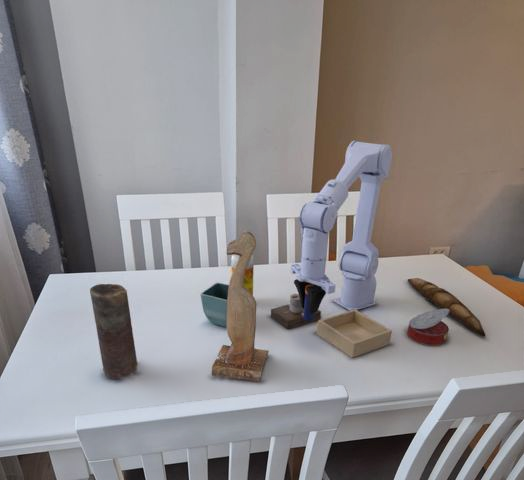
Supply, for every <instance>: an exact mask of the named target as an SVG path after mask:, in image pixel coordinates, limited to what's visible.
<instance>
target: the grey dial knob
mask: <svg viewBox="0 0 524 480" xmlns="http://www.w3.org/2000/svg"><path fill="white" fill-rule="evenodd" d="M289 304H290V308H289V310H290V311H291V312H293V313H300V312H302V311H303V308H302V307H301V302H300V297H299V293H293V294H290V295H289Z"/></svg>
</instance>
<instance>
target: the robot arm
mask: <svg viewBox="0 0 524 480" xmlns="http://www.w3.org/2000/svg"><path fill="white" fill-rule="evenodd" d="M344 157H345V159H344V163H343V165H342V167H341V169H340V170H339V172H338V174H337V175H336V177H335V178H334V179H329V180H328V181H327V182H326V183H325V185H324V186H323V187H322V189H321V190H320V191H319V192H318V194H317V195H316V196H315V197H314V199H313V200H312V201H308V202H307V203H304V205H303V206H302V207H301V210H300V212H299V216H298V224H299V226H300V235H301V236H302V243H301V244H302V245H301V257H300V258H301V259H300V264H299V263H294V264H291V265H290V273H291V274H293V275H294V274H295V275H297V276H296V279H294V281H293V284H294V286H295V287H296V290H297V294H299V297H300V302H301V307H302V308H304V303H305V287H306V285H313V286H310V287H306V290H307V293H308V298H309V313H311V314H312V313H316V312H317V311H318V310H319V308H320V306H321V303H322V301H323V299H324V297H325V296H326V295H330V294H335V293H336V286H337V285H336V284H335V283H334V282H332V281H331V279H330V278H329V277H328V276H327V275H326V265H327V256H328V245H329V236H330V232H331V230H332V229H333V228H334V226H335V224H336V219H337V217H338V215H339V210H340V208H341V207H342V206H343V205H344V203H345V202H346V201H347V199H348V198H349V189H350V187H351V186H352V185H353V184H354V183H355V181H357V179H358V178H359V179H360V181H361V183H360V185H361V186H360V190H359V197H358V201H357V208H356V214H355V221H354V227H353V234H352V239H351V240H350V241H348V242H347V243H345V244H344V245H343V246H342V248H341V253H340V255H339V258H338V262H337V263H338V269H339V270H340V271H341V275H342V276H343V277H342V284H341V293H340V294H341V295H340V297H339V298H335V299H333V302H334V303H336V304H338V305H339V306H341V307H343V308H344V309H346V310H348V311H351V310H354V309H355V310H357V311H359V310H362V309H365V308H368V307H372V306H376V302H375V295H376V290H377V278H376V276H375V275H376V273H377V270H378V268H379V255H380V253H379V249H378V248H377V247H376V246H375V245H374V244H373V243H372V241H371V240H372V235H373V230H374V224H375V218H376V214H377V208H378V203H379V197H380V191H381V187H382V182H383V180H386V179H388V177H389V174H390V170H391V166H392V165H391V164H392V160H393V152H392V148H391V146H390V144H381V143H380V144H379V143H370V142H363V141H357V140H352V141H351V142H350V143H349V144H348V146H347V147H346V151H345V156H344Z"/></svg>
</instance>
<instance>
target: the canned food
mask: <svg viewBox="0 0 524 480" xmlns="http://www.w3.org/2000/svg"><path fill="white" fill-rule="evenodd" d="M448 313H449V309H440V308H438V309H433V310H429V311H425V312H423V313H420V314H418V315H416V316H414V317H412V318H411V319H410V320H409V323H408V327H407V330H406V331H407V332H406V333H407V337H408V338H409V339H411V340H412V341H413V342H415V343H418V344H421V345H425V346H440V345H443V344H445V343H446V341H447V338H448V334H449V331H450V328H449V326H448V325H447V323H445V322H443V321H442V320H443V319H444V318H445V317H446V316H447V315H448V316H449V314H448Z"/></svg>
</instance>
